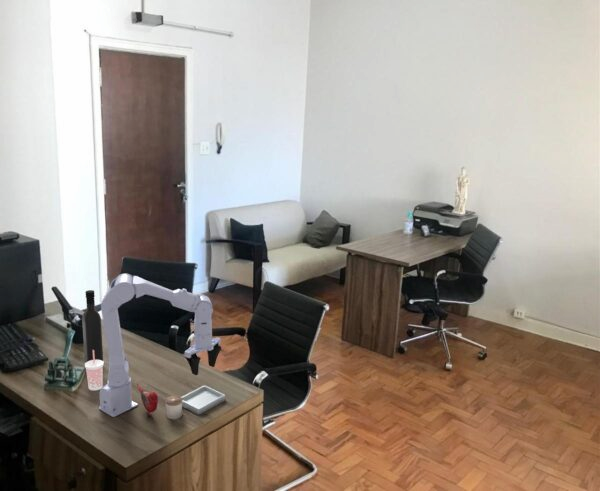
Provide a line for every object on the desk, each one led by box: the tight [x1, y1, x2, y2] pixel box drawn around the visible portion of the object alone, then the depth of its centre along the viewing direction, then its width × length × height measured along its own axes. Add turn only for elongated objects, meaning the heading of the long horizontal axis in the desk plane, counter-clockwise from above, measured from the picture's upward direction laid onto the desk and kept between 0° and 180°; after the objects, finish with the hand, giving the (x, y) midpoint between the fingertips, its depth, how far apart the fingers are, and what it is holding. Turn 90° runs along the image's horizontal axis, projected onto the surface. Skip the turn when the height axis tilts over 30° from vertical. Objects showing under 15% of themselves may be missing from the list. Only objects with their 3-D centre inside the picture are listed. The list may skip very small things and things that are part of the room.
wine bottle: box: [81, 289, 104, 368], centre depth 199 cm, size 6×6×30 cm
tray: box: [181, 385, 226, 416], centre depth 182 cm, size 12×10×2 cm
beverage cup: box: [84, 350, 105, 391], centre depth 188 cm, size 6×6×14 cm
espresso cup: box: [165, 394, 183, 420], centre depth 174 cm, size 5×5×6 cm
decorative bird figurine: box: [136, 383, 159, 419], centre depth 174 cm, size 3×18×10 cm, turn 36°
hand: (203, 370), depth 182 cm, fingers open, 7 cm apart
